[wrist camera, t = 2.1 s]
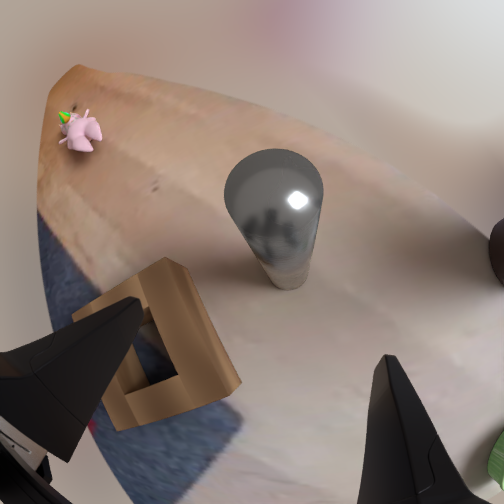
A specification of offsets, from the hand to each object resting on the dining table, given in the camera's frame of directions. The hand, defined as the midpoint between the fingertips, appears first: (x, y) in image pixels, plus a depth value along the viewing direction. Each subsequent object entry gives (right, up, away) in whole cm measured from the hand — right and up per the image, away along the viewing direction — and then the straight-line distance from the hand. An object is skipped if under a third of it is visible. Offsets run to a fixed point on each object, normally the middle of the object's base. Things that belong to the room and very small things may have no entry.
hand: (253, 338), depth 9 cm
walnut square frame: (-7, -5, +12) cm, 15 cm away
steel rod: (+3, +1, +12) cm, 12 cm away
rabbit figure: (-22, +18, +20) cm, 35 cm away
